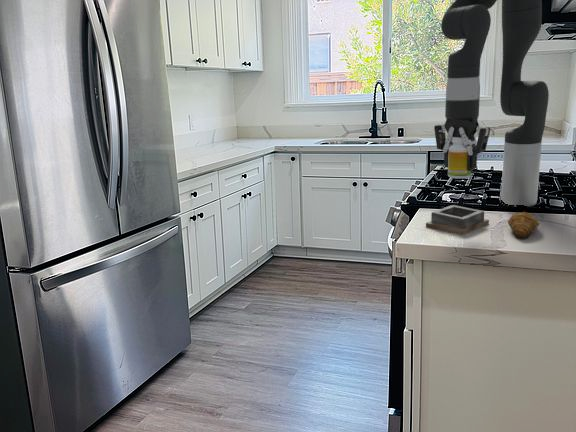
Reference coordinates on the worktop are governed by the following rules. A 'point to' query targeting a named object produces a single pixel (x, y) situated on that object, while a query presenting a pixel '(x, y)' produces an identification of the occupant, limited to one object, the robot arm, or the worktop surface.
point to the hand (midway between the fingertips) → (459, 168)
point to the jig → (457, 219)
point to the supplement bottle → (458, 159)
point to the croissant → (523, 224)
